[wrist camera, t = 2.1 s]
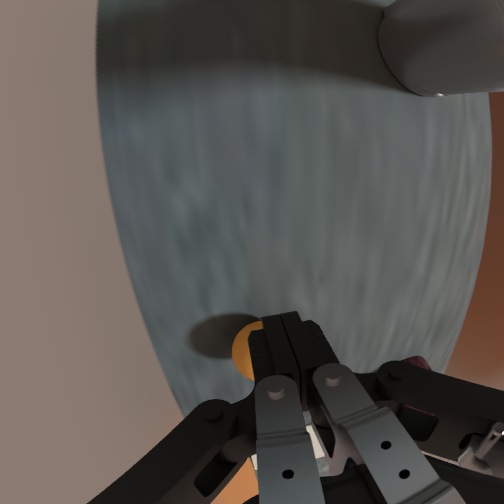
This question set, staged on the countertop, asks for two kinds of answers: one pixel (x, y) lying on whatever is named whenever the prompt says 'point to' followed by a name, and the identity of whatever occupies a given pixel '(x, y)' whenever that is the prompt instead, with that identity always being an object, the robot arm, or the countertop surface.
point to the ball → (244, 350)
